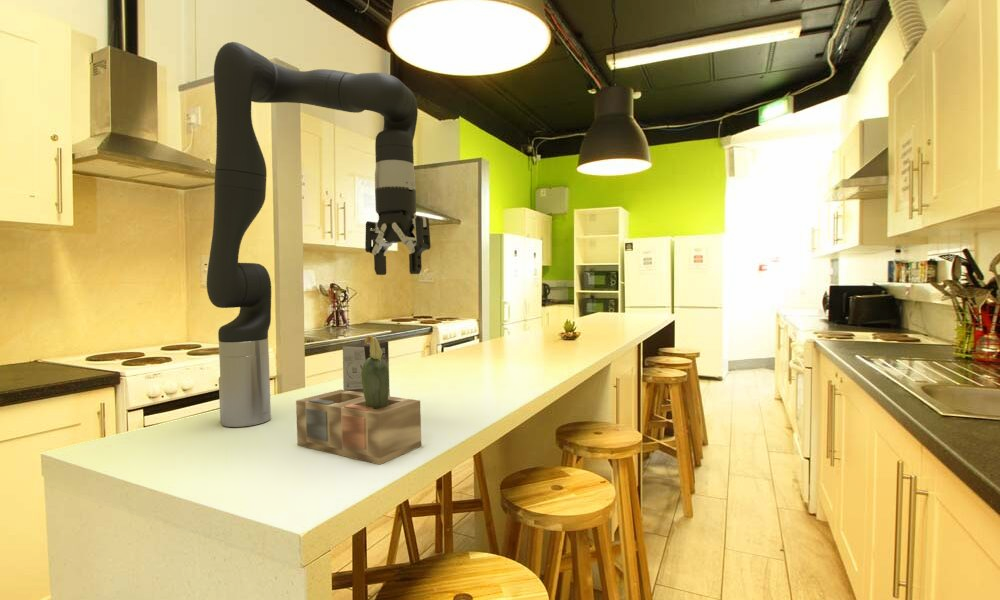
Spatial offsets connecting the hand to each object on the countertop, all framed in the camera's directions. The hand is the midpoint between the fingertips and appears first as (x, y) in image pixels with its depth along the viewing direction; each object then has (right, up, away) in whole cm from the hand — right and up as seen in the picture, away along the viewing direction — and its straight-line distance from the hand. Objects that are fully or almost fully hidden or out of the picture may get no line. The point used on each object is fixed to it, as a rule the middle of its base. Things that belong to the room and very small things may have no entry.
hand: (397, 274), depth 96 cm
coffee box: (-8, -30, +10) cm, 33 cm away
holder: (-5, -31, -7) cm, 32 cm away
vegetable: (-3, -30, -9) cm, 31 cm away
